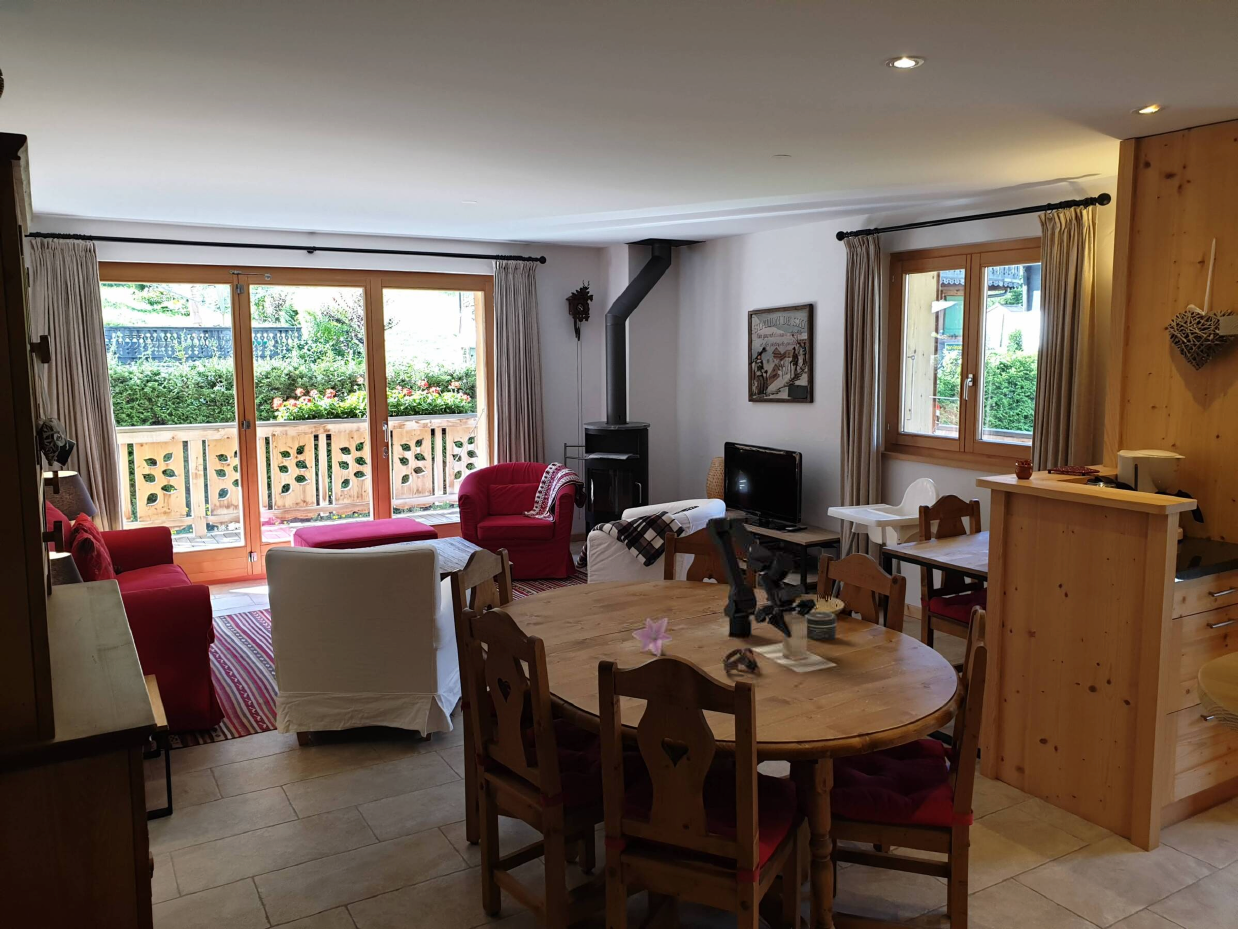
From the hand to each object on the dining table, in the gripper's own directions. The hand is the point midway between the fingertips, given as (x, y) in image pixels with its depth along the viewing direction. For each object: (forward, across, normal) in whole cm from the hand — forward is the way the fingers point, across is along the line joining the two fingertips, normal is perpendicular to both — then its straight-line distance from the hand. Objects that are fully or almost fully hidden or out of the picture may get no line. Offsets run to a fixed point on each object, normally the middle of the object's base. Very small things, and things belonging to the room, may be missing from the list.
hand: (797, 636), depth 261 cm
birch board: (+4, 0, +7) cm, 8 cm away
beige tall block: (+4, 0, +6) cm, 7 cm away
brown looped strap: (+6, -18, +6) cm, 20 cm away
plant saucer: (-22, +35, +35) cm, 54 cm away
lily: (-15, -32, +27) cm, 44 cm away
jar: (-4, +19, +16) cm, 25 cm away
